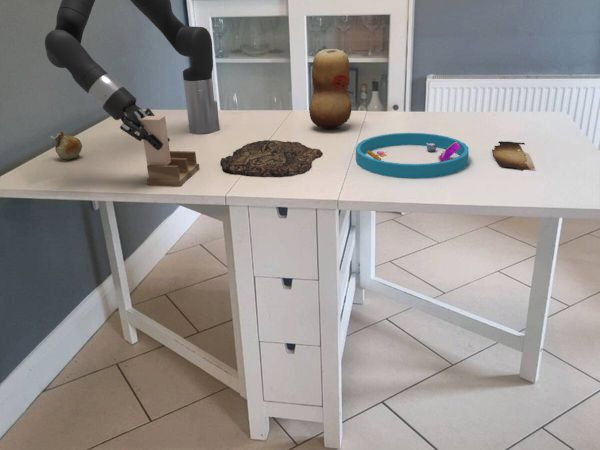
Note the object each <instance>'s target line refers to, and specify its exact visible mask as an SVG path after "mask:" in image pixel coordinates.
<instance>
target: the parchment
mask: <svg viewBox="0 0 600 450" xmlns="http://www.w3.org/2000/svg"><path fill="white" fill-rule="evenodd" d="M497 144H498V145H494V148H493V149H492V150H491V151H492V157H493V158H494V159H496V162H497V163H498V164H499V166H500V167H501V168H504V167H505V168H506V167H507V168H516V169H519V170H520V171H522V172H523V171H529V170H531V171H532V170H536V167H535V164H534V162H533V159H532V157H531V155H530V153H527V152H524V150H523V148H522V146H521V145H523V146H524V145H526V143H525V142H516V141H502V140H501V141H498V142H497Z"/></svg>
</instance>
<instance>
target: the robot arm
mask: <svg viewBox="0 0 600 450" xmlns="http://www.w3.org/2000/svg"><path fill="white" fill-rule="evenodd" d="M129 1H130V2H131V3H132V4H133V5H134V6H135V7H136V8H137V9H138V11H140V13H142V14H143V15H144V16H145V17H146V18H147V20H149V21H150V22H151V23H152V24H153V25H154V26H155V27H156V29H158V30H159V31H160V32H161V34H162V35H163V36H164V38H166V40H167V41H168V42H169V44H170V46H172V47H173V48H174V50H175V51H176V52H177V53H178V54H179V55H181V56H184V57H188V58H189V57H190V58H191V65H190V66H189V67H188V68H186V69H184V70H183V71H182V79H183V86H184V96H185V97H184V98H185V104H186V105H185V106H186V112H187V121H188V122H187V123H188V129H189V133H191V134H196V135H198V134H199V135H203V134H204V135H205V134H210V133H213V132H216V131H219V130H220V129H221V128H220V120H219V111H218V110H219V109H218V108H219V107H218V102H217V100H215V93H214V83H213V69H214V55H213V51H214V50H213V41H212V35H211V34H210V32H209V30H208V29H207V28H205V27H203V26H189V25H185V24H184V23H183V22H182V21H180V20H179V18H177V16H176V15H175V14H174V12H173V9H172V8H173V7H172V3H171V0H129ZM95 2H96V0H61V2H60V5H59V8H58V10H57V15H56V24H55V25H56V26H55V27H54V30H53V29H52V30H51V31H49V32H48V33H47V34H46V36H45V38H44V48H45V53H46V56H47V59H48V60H49V62H50V63H51V64H52V65H53V66H55V67H56V68H59V69H66V70H67V71H68V72H69V73H70V74H71V77H72V79H73V80H74V82H75V83H76V84H77V85H78V86H79V87H80V88H81V89H82V90H84V91H85V92H86V93H87V94H88V95H89V96H90V97H91V98H92V99H93V101H94V102H95V103H96V104H97V105H98V106H99V107H100V108H101V109H103V110H104V111H105V112H106V113H107V114H108V115H109V116H110V117H111V118H112V119H114V121H120V120H121V122H122V124H120V126H119V128H120V130H122V131H123V132H124V133H127V134H128V135H129V136H131V137H132V138H134V139H135V140H138V141H139V142H142V141H143V142H144V141H148V142H149V143H150V144H151V145H152V146H153V147H154V148H155V149H156V150H159V149H160V148H161V147H162V146H163V143H162V142H161V141H160V140H159V139H158V138H156V137H155V136H154V135H153V134H152V133H151V132H150V131H149V130H148V129H147V128H146V124H145V123H144V122H142V121H141V120H140V119H142V118H144V117H146V116H156V115H155V114H154V112H153V111H152V110H151V109H150V108H148V107H147V108H146V109H145V110H143V109H142V108H141V107H139V106H138V105H137V104H136V102H137V98H136V96H134V95H133V94H132V93H131V92H130V91H129V90H128V89H126V87H124V86H123V84H121V83H120V81H118V80H117V79H116V78H114V77H113V76H112V75H110V74H109V73H108V72H107V71H106V70H105V69H104V68H103V67H102V66H101V65H99V63H97V62H96V60H94V58H92V56H91V55H90V54H89V53H88V51H87V50H86V49H85V48H84V46H83V45H82V44H81V42H82V41H83V40H82V39H83V34H84V31H85V29H86V26H87V24H88V22H89V21H88V20H89V18H90V16H91V13H92V10H93V6H94V4H95ZM143 130H144V131H143ZM151 134H152V135H151ZM170 141H171V139H170V138H169V137H168V142H170Z"/></svg>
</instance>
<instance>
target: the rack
mask: <svg viewBox="0 0 600 450" xmlns="http://www.w3.org/2000/svg"><path fill="white" fill-rule="evenodd" d="M196 154H197V153H196V151H190V150H189V151H185V150H183V151H182V150H170V158H171V162H170V163H169V164H168V165H148V166H147V165H146V170H147V176H148V178H146V183H147V186H162V187H163V186H165V187H167V186H168V187H182V186H183V185H184V184H185V183H186V182H187V181H188V180H189V179H190V178H191V177H193V175H194V174H195V173H197V172H198V171H199V170H200V164H199V163H197V155H196Z"/></svg>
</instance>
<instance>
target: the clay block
mask: <svg viewBox="0 0 600 450" xmlns="http://www.w3.org/2000/svg"><path fill="white" fill-rule="evenodd" d="M140 120H141V121H142V122H144V123H145V124H146V128H147V129H148V130H149V131H150V132H151V133H152V134H153V135H154V136H155V137H156V138H158V139H159V140H160V141H161V142H162V143H163V146H162V147H161V148H160V149H159V150H156V149H155V148H154V147H153V146H152V145H151V144H150V143H149V142H148V141H144V140H143V146H144V147H143V148H144V152H145V159H146V160H145V161H146V167H147V166H148V165H168V164H169V163H170V162H171V158H170V151H171V150H170V143H169V142H170V141H169V142H168V138H169V135H168V129H167V121H166V116H165V115H164V116H163V115H160V116H159V115H155V116H146V117H144V118H142V119H140ZM143 131H144V130H143ZM152 134H151V135H152Z"/></svg>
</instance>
